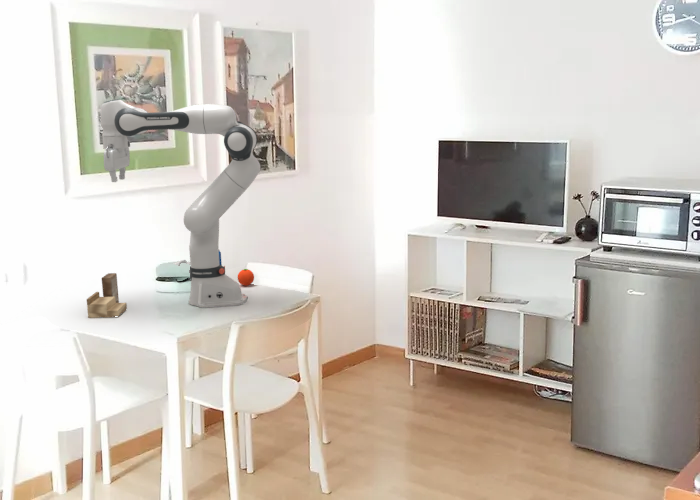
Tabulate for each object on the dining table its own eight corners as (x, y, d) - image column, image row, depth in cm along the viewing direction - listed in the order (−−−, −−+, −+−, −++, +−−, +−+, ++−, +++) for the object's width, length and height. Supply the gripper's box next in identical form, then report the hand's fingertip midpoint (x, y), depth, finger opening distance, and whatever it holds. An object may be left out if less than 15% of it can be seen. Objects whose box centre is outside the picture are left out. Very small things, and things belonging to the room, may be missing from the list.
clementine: (238, 283, 338) (237, 267, 337) (254, 282, 339) (253, 266, 338) (237, 287, 330) (236, 271, 329) (254, 287, 331) (253, 270, 330)
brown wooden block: (119, 303, 311) (116, 273, 309) (112, 308, 303) (110, 277, 301) (110, 303, 311) (108, 273, 309) (104, 308, 303) (101, 278, 301)
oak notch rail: (126, 309, 302) (125, 291, 300) (118, 317, 291) (116, 298, 290) (98, 309, 302) (96, 291, 301) (88, 317, 291) (86, 299, 290)
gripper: (115, 145, 288) (118, 183, 291) (131, 142, 308) (134, 177, 311) (97, 145, 288) (101, 183, 291) (115, 142, 308) (118, 178, 311)
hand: (118, 180), depth 301 cm, fingers open, 8 cm apart
